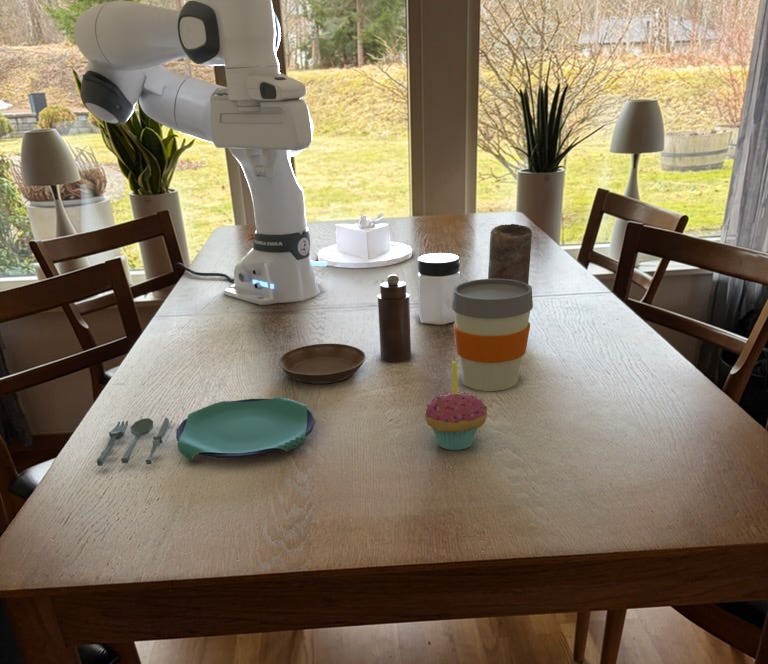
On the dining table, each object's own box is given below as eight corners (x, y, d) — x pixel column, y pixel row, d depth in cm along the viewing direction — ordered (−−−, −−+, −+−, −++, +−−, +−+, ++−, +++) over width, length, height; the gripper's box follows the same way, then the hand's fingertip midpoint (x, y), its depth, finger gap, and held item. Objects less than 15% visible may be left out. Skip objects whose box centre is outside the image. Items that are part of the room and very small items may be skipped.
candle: (529, 335, 148) (535, 224, 137) (522, 348, 142) (527, 232, 131) (489, 333, 150) (492, 223, 140) (480, 345, 144) (483, 231, 134)
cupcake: (421, 432, 113) (420, 352, 107) (480, 428, 113) (482, 347, 107) (430, 459, 106) (428, 374, 99) (492, 454, 106) (495, 369, 100)
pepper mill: (374, 359, 140) (370, 276, 133) (391, 350, 144) (388, 269, 136) (400, 364, 137) (397, 280, 130) (416, 355, 141) (414, 272, 134)
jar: (433, 328, 154) (432, 265, 148) (409, 318, 160) (407, 258, 154) (469, 318, 158) (469, 257, 152) (444, 309, 164) (444, 250, 158)
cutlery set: (315, 463, 106) (313, 448, 105) (90, 478, 105) (86, 463, 104) (316, 405, 123) (315, 392, 122) (123, 418, 122) (120, 404, 121)
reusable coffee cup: (483, 401, 122) (485, 305, 114) (436, 378, 131) (435, 287, 123) (545, 382, 127) (551, 289, 120) (495, 361, 136) (498, 274, 129)
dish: (428, 250, 212) (428, 205, 206) (378, 271, 194) (376, 224, 188) (353, 242, 224) (350, 200, 218) (299, 262, 206) (295, 217, 200)
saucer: (366, 386, 129) (365, 370, 128) (276, 391, 129) (274, 375, 128) (366, 355, 142) (365, 341, 141) (284, 360, 142) (282, 345, 140)
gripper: (196, 89, 133) (208, 177, 140) (288, 87, 123) (297, 182, 130) (222, 87, 137) (233, 172, 145) (313, 85, 127) (320, 177, 134)
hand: (264, 177), depth 137 cm, fingers closed
